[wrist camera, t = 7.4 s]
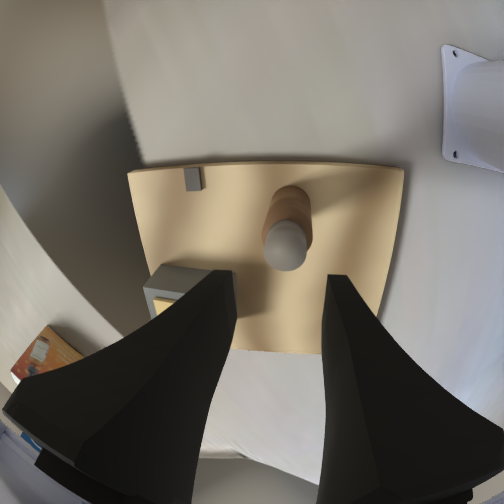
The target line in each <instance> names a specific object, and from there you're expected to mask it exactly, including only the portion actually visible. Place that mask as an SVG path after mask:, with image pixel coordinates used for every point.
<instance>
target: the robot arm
mask: <svg viewBox="0 0 504 504" xmlns="http://www.w3.org/2000/svg"><path fill="white" fill-rule="evenodd" d="M453 51H454V52H455V53H456V57H455V56H454V55H453ZM441 54H442V66H443V85H444V123H443V142H442V156H443V158H444V159H446V160H448V161H452V162H457V163H462V164H467V165H472V166H476V167H481V168H485V169H489V170H493V171H497V172H501V173H504V60H500V61H489V60H486V59H484V58H482V57H479V56H477V55H475V54H472V53H470V52H467V51H464V50H462V49H459V48H456V47H453V46H450V45H444V46H442V48H441ZM454 151H456V156H455V157H453V152H454ZM236 321H237V310H236V302H235V293H234V284H233V276H232V270H215V269H214V270H213V271H212V272H210V273H209V274H208V275H207V276H205V277H204V278H203V279H202V280H201V281H200V282H198V283H197V284H196V285H195V286H194V287H193V288H191V289H190V290H189V291H188V292H187V293H185V294H184V295H183V296H182V297H181V298H179V299H178V300H177V301H176V302H175V303H173V304H172V305H171V306H169V307H168V308H167V309H165V310H164V311H163V312H161V313H160V314H159V315H157V316H156V317H155V318H153V319H152V320H151V321H149V322H148V323H147V324H145V325H144V326H142V327H140V328H139V329H137V330H136V331H134V332H133V333H131V334H129V335H128V336H126V337H124V338H123V339H121V340H119V341H118V342H116V343H114V344H112V345H110V346H108V347H106V348H104V349H102V350H100V351H98V352H96V353H94V354H92V355H90V356H88V357H85V358H83V359H81V360H78V361H76V362H73V363H71V364H68V365H66V366H63V367H60V368H57V369H54V370H51V371H47V372H44V373H40V374H37V375H33V376H29V377H25V378H23V379H22V380H21V381H20V383H19V384H18V386H17V387H16V389H15V390H14V392H13V393H12V395H11V397H10V398H9V400H8V401H7V403H6V404H5V406H4V407H3V409H2V411H3V414H4V415H5V416H6V417H7V418H8V419H9V420H10V421H11V422H12V423H14V424H15V425H16V426H17V427H18V428H19V429H20V430H21V431H23V432H24V433H25V434H26V435H27V436H29V437H30V438H31V439H32V440H34V441H35V442H36V443H38V444H39V445H40V446H42V447H43V448H42V450H41V452H40V453H39V452H38V451H36V450H35V449H34V448H33V447H31V445H30V444H29V443H28V442H26V441H25V440H24V439H23V438H22V437H20V436H19V435H18V434H17V433H16V432H14V431H13V430H12V429H11V428H10V427H9V426H7V425H6V424H5V423H3V422H2V421H1V420H0V504H191V500H192V493H193V486H194V480H195V474H196V468H197V463H198V457H199V452H200V447H201V443H202V438H203V433H204V429H205V424H206V420H207V416H208V412H209V408H210V404H211V401H212V398H213V394H214V392H215V389H216V386H217V383H218V381H219V378H220V375H221V372H222V370H223V367H224V364H225V361H226V358H227V356H228V353H229V350H230V347H231V344H232V340H233V336H234V331H235V326H236ZM321 351H322V363H323V374H324V387H325V402H326V423H325V438H324V449H323V459H322V468H321V476H320V483H319V490H318V497H317V502H316V504H467V502H468V501H471V500H472V498H473V490H472V488H474V487H476V486H477V485H479V484H481V483H483V482H485V481H487V480H488V479H490V478H492V477H494V476H495V475H497V474H498V473H500V472H501V471H503V470H504V431H503V429H502V428H501V427H499V426H497V425H496V424H494V423H493V422H491V421H489V420H488V419H486V418H484V417H483V416H481V415H480V414H478V413H476V412H475V411H473V410H472V409H470V408H469V407H468V406H466V405H465V404H464V403H462V402H461V401H460V400H458V399H457V398H456V397H454V396H453V395H452V394H450V393H449V392H448V391H447V390H445V389H444V388H443V387H442V386H441V385H440V384H438V383H437V382H436V381H435V380H434V379H433V378H432V377H431V376H429V375H428V374H427V373H426V372H425V371H424V370H423V369H422V368H421V367H420V366H419V365H418V364H417V363H416V362H415V361H414V360H413V359H412V358H411V357H410V356H409V355H408V354H407V353H406V352H405V351H404V350H403V349H402V348H401V347H400V346H399V345H398V343H397V342H396V341H395V340H394V339H393V337H392V336H391V335H390V334H389V333H388V331H387V330H386V329H385V328H384V326H383V325H382V324H381V323H380V321H379V320H378V319H377V317H376V316H375V315H374V313H373V312H372V311H371V309H370V308H369V307H368V305H367V304H366V302H365V301H364V299H363V298H362V297H361V295H360V294H359V292H358V291H357V289H356V288H355V286H354V285H353V283H352V282H351V280H350V279H349V277H348V276H347V275H339V274H327V283H326V292H325V300H324V308H323V315H322V328H321ZM481 504H504V491H502V492H501V493H499V494H497V495H495V496H493V497H492V498H491V499H489V500H487V501H485V502H483V503H481Z"/></svg>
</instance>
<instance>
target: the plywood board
mask: <svg viewBox="0 0 504 504" xmlns="http://www.w3.org/2000/svg"><path fill="white" fill-rule="evenodd" d="M128 180H129V184H130V189H131V195H132V199H133V205H134V210H135V214H136V219H137V223H138V227H139V232H140V236H141V240H142V244H143V248H144V252H145V256H146V259H147V263H148V266H149V270H150V274H151V276H152V275H153V273H154V272H155V271H156V269H157V268H158V267H159V266H160V264H163V265H171V266H179V267H187V268H196V269H205V270H214V269H215V270H232V273H236V279H237V318H238V319H237V322H236V326H235V331H234V336H233V340H232V344H231V347H230V348H233V349H243V350H254V351H267V352H282V353H301V354H322V351H321V328H322V315H323V308H324V300H325V292H326V283H327V274H339V275H347V276H348V277H349V279H350V280H351V282H352V283H353V285H354V286H355V288H356V289H357V291H358V292H359V294H360V295H361V297H362V298H363V299H364V301H365V302H366V304H367V305H368V307H369V308H370V309H371V311H372V312H373V313H374V315H375V316H377V313H378V309H379V306H380V302H381V298H382V294H383V291H384V287H385V283H386V278H387V274H388V270H389V265H390V261H391V256H392V251H393V246H394V241H395V235H396V230H397V224H398V218H399V211H400V204H401V197H402V189H403V180H404V171H403V170H402V169H401V168H399V167H390V166H379V165H367V164H354V163H336V162H310V161H247V162H221V163H203V164H189V165H177V166H166V167H156V168H147V169H139V170H134V171H132V172H130V173H128ZM284 186H297V187H299V188H301V189H303V190H304V191H305V192H306V193H307V195H308V196H309V199H310V204H311V217H312V231H313V241H312V244H311V247H310V248H309V250H308V251H307V255H306V259H305V261H304V263H303V264H302V265H301V266H300V267H299V268H297V269H295V270H293V271H279V270H276V269H274V268H273V267H271V266H270V265H269V264H268V263H267V262H266V260H265V258H264V245H263V243H262V238H261V233H262V229H263V225H264V222H265V219H266V216H267V213H268V209H269V206H270V203H271V200H272V197H273V195H274V193H275V192H276V191H277V190H278V189H280V188H282V187H284Z"/></svg>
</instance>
